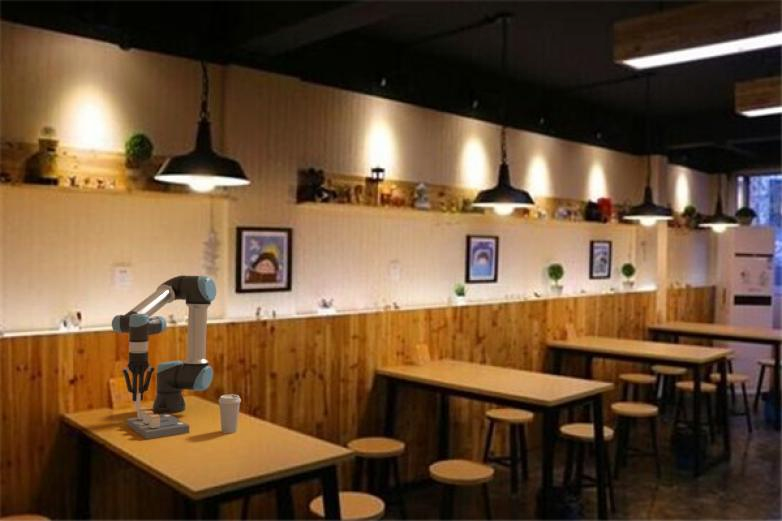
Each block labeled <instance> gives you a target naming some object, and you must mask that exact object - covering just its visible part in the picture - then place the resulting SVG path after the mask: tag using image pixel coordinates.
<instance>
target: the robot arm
mask: <svg viewBox="0 0 782 521" xmlns="http://www.w3.org/2000/svg"><path fill="white" fill-rule="evenodd" d="M216 296H217V286H216V282H215V281H214V279H213V278H212V277H210V276H205V275H186V274H185V275H177V276H175V277H172V278H170V279H168V280H166V281H164V282H162V283H161V284H159V286H157V288H156V290H155V291H153V292H152V294H150V295H149V296H148V297H146V298H145V299H144V300H142V301H141V302H139V303H138V304H137V305H136V306H134V307H133V308H132V309H131V310H129V311H128V312H126V314H116V315H114V317H113V318H112V320H111V329H112V330H113V331H114V332H116V333H121V334H128V335H129V336H128V337H129V339H128V351H129V352H128V363H127V366H126V367H125V368H122V369H121V373H122V374H123V376H124V379H125V384H126V388H127V392H129V393H132V401H133V402H134V409H135V410H136V411H137V410H138V409H140V407H141V401H143V399H144V393H145V392H147V391H149V386H150V382H151V378H152V374H153V373H154V371H155V367H153V366H151V365H150V364H149V352H148V351H149V337H150V336H152V335H159V334H161V333H163V332H165V331H166V329H167V321H166V319H165V318H164V317H162V316H160V315H155V314H156V313H157V312H158V311H160V309H161V308H163V307H164V306H165V305H167V304H170V303H173V302H174V301H179V300H182V301H185V305H186V306H187V307H188V314H187V315H188V318H187V320H188V321H187V338H186V339H187V340H186V341H187V344H186V359H185V358H184V360H183V361H182V360H172V361H171V360H170V361H165V362H160V363H159V364H158V365H157V366H156V395H155V398H154V401H153V404H152V412H154V413H157V414H164V413H168V414H174V413H180V412H184V411H185V410H186V402H185V398H184V396H183V390H187V391H188V390H189V391H195V392H197V391H202V392H203V391H205V390H207V389H208V388H209V387H210V385H211V384H212V382H213V378H214V370H213V367H212V366H210V365H209V364H210V362H209V361H208V360H209V359H207V358H206V355H207V351H206V350H207V331H208V330H207V329H208V327H207V326H208V324H207V322H208V308H209V307H210V306H211V304H212V302H213V301H214V300H215V299H216ZM146 371H147V372H146ZM129 372H130V373H131V376H132V380H131V379H130V378H131V377H130V375H129ZM145 373H146V374H145ZM144 377H145V378H144Z"/></svg>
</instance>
